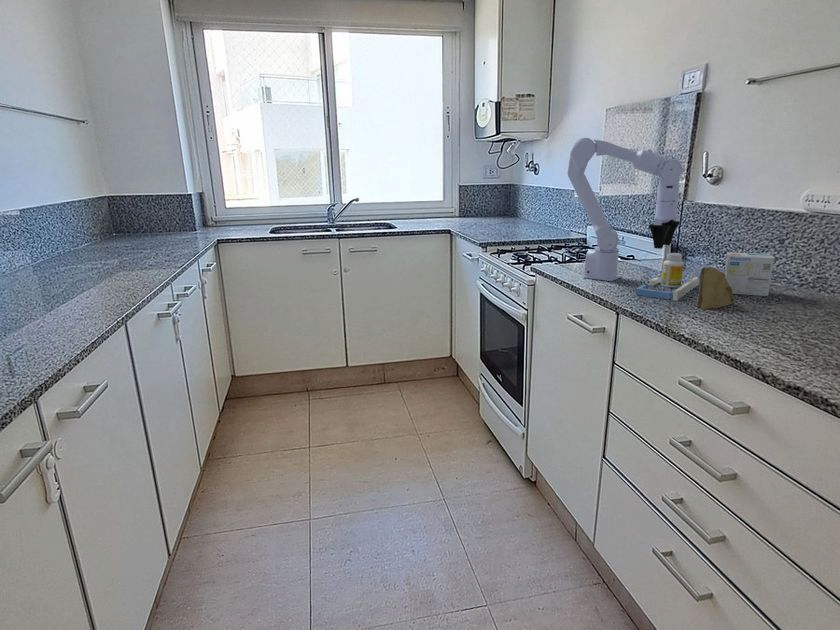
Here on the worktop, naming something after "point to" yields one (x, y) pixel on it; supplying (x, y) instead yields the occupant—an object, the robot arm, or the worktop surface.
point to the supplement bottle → (672, 271)
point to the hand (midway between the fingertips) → (662, 246)
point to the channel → (666, 295)
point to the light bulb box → (749, 273)
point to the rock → (713, 289)
